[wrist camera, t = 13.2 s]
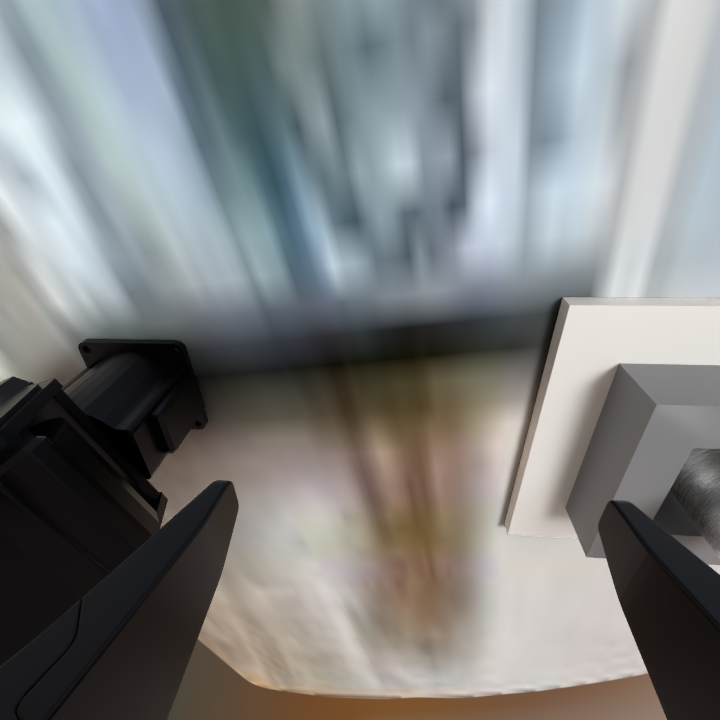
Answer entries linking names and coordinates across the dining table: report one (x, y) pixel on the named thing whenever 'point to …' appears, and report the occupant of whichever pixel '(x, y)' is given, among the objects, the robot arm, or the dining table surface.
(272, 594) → the dining table surface
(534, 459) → the mount
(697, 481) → the grey cylindrical piece
